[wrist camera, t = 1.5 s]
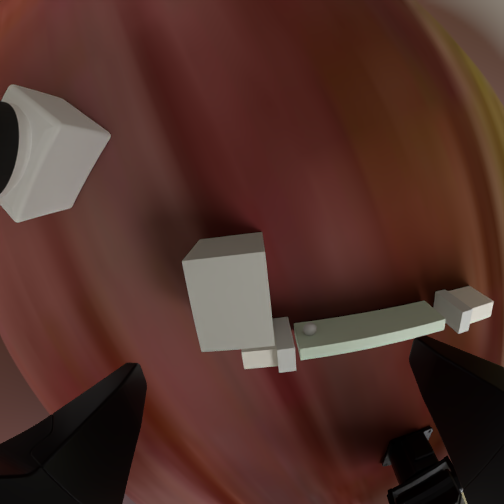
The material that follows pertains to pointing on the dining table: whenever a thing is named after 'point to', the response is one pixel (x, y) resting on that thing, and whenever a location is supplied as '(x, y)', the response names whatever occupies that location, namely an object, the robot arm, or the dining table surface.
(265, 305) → the grey cube block
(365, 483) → the dining table surface
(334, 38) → the dining table surface
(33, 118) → the medicine bottle
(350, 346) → the pale green curved bar
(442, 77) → the dining table surface
